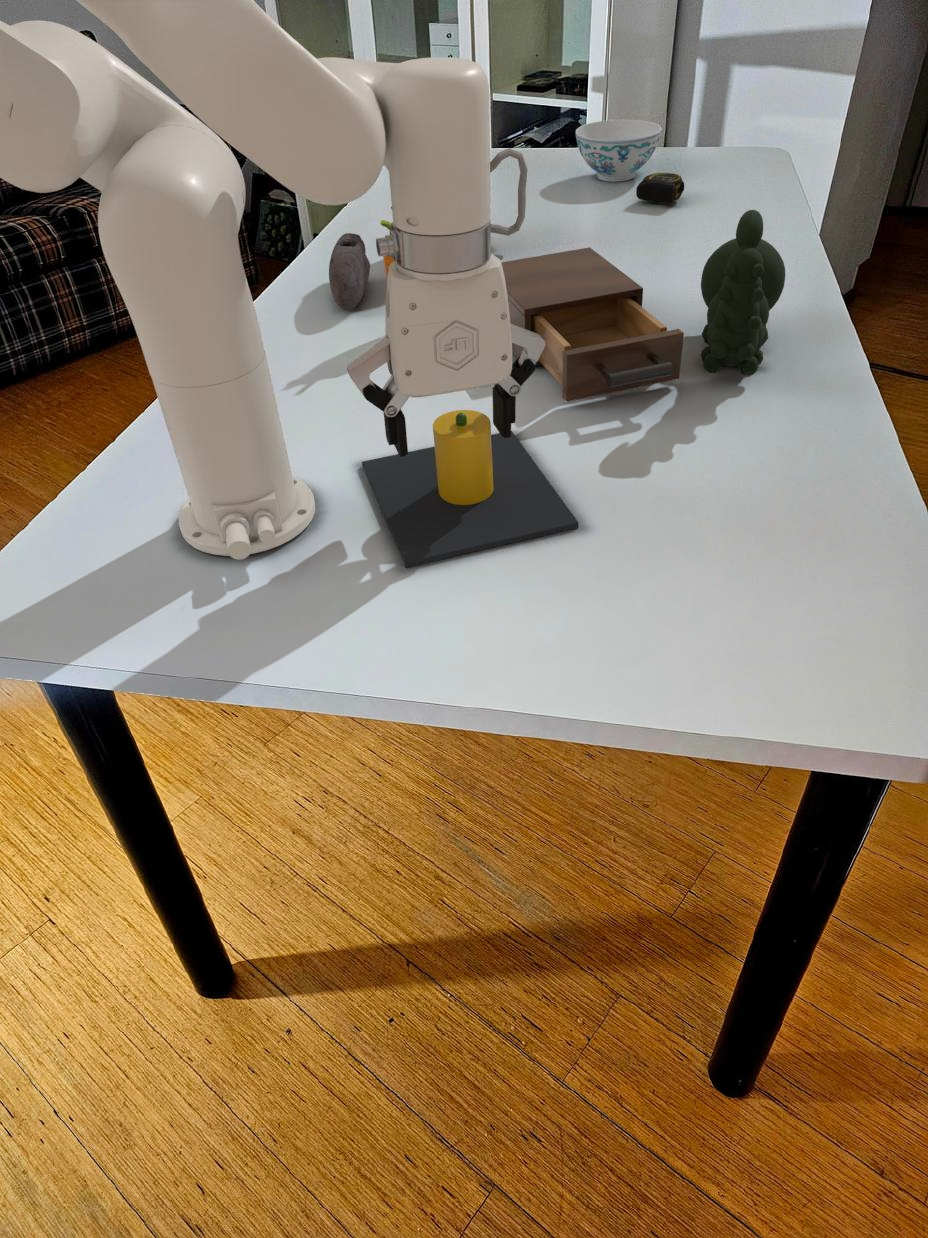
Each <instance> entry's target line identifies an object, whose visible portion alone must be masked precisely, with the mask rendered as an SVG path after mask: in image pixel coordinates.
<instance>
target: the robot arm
mask: <svg viewBox="0 0 928 1238" xmlns="http://www.w3.org/2000/svg"><path fill="white" fill-rule="evenodd" d="M75 1H76V2H77V3H78V4H79V5H81V6H82V7H83V8H85V9H86V10H87V11H89V12H90V14H92V15H93V16H95V17H96V18H97V19H98V20H99V21H101V22H102V23H103V24H105V25H106V26H107V27H108V28H109V29H110V30H112V31H113V32H114V33H115V35H117V36H118V37H119V39H121V40H122V42H123V43H124V44H125V45H126V46H127V48H128V49H129V50H130V51H131V52H132V53H133V55H134V56H135V57H136V58H137V59H138V60H139V61H140V62H141V63H142V64H143V65H144V66H145V67H147V68H148V69H149V70H150V72H152V73H153V74H154V75H155V76H156V77H157V79H159V81H161V82H162V83H163V84H164V85H165V86H166V88H168V89H169V90H170V91H171V93H172V94H173V95H175V97H176V98H177V99H178V100H179V101H180V102H181V103H182V104H183V105H184V106H185V107H186V108H187V109H189V110H190V111H191V112H192V113H193V114H194V115H193V114H192V113H190V112H189V111H188V110H187V109H185V108H184V107H183V106H181V105H180V104H179V103H178V102H176V100H174V99H172V97H170V96H168V95H167V94H166V93H164V92H163V91H162V90H160V89H159V88H158V87H156V86H155V84H152V83H151V82H150V81H148V80H147V79H146V78H145V77H144V76H142V75H141V74H140V73H138V72H137V71H135V70H134V69H133V68H132V67H130V66H129V65H127V63H125V62H124V61H122V60H121V59H120V58H119V57H117V56H116V55H114V54H113V53H112V52H111V51H110V50H108V49H107V48H105V47H103V46H102V45H101V44H99V43H98V42H96V41H95V40H93V39H92V38H90V37H89V36H87V35H85V34H83V33H82V32H79V31H77V30H76V29H73V28H71V27H69V26H66V25H64V24H61V23H58V22H54V21H48V20H38V19H35V20H25V21H19V22H16V23H13V24H11V25H9V24H8V23H6V22H4V21H2V20H0V179H2V180H3V181H5V182H7V183H8V184H11V185H12V186H15V187H17V188H19V189H21V190H23V191H28V192H32V193H33V192H34V193H38V194H47V193H52V192H53V193H54V192H58V191H61V190H63V189H65V188H67V187H69V186H71V185H72V184H74V183H75V182H76V181H77V180H78V179H82V180H83V181H85V182H86V183H87V184H89V185H91V186H92V187H93V188H95V189H97V190H98V191H100V192H101V194H100V197H99V203H98V210H97V227H98V236H99V237H98V238H99V242H100V246H101V250H102V253H103V256H104V259H105V262H106V264H107V266H108V267H107V268H108V269H109V272H110V274H111V277H112V278H113V280H114V282H115V285H116V287H117V289H118V291H119V294H120V295H121V298H122V301H123V302H124V304H125V307H126V309H127V311H128V314H129V317H130V319H131V322H132V325H133V327H134V330H135V333H136V336H137V338H138V342H139V345H140V347H141V351H142V355H143V357H144V360H145V364H146V366H147V369H148V373H149V376H150V378H151V380H152V384H153V387H154V390H155V393H156V397H157V399H158V403H159V406H160V408H161V409H160V410H161V413H162V416H163V419H164V423H165V425H166V429H167V433H168V436H169V438H170V442H171V445H172V448H173V451H174V454H175V455H174V456H175V459H176V460H177V464H178V467H179V470H180V474H181V477H182V480H183V483H184V486H185V490H186V493H187V496H188V500H187V502H185V504H183V507H182V508H181V510H180V511H179V516H178V526H179V530H180V532H181V535H182V537H183V539H184V540H185V542H186V543H187V544H189V545H190V546H191V547H193V549H196V550H199V551H200V552H203V553H207V554H209V555H215V556H223V557H230V558H232V559H234V560H237V561H239V560H240V561H241V560H245V559H247V558H248V557H249V556H250V555H254V554H258V553H262V552H267V551H269V550H271V549H274V548H277V547H280V546H282V545H284V544H285V543H288V542H289V541H291V540H293V539H294V538H295V537H297V536H298V535H300V534H301V533H302V532H303V531H304V530H305V529H306V528H307V527H308V526H309V524H311V522H312V521H313V519H314V516H315V513H316V501H315V497H314V493H313V491H312V489H311V488H310V486H308V485H307V484H306V483H305V482H303V481H302V480H300V479H298V478H297V477H294V476H293V472H292V469H291V464H290V459H289V455H288V450H287V445H286V441H285V440H286V439H285V437H284V431H283V426H282V422H281V418H280V412H279V408H278V404H277V399H276V395H275V390H274V386H273V381H272V375H271V371H270V368H269V363H268V362H269V361H268V358H267V353H266V349H265V346H264V342H263V337H262V331H261V327H260V324H259V320H258V315H257V312H256V307H255V303H254V299H253V296H252V293H251V289H250V286H249V283H248V279H247V276H246V272H245V270H244V269H245V267H244V264H243V259H242V256H241V250H240V242H239V232H240V229H241V228H240V227H241V221H242V218H243V215H244V211H245V206H246V183H245V178H244V174H243V171H242V169H241V167H240V166H241V165H240V164H239V162H238V160H237V158H236V156H235V155H234V153H233V151H232V150H231V149H230V148H229V146H228V145H227V144H229V145H230V146H231V147H233V148H234V149H235V150H236V151H238V153H240V154H242V155H243V156H245V157H246V158H247V159H248V160H249V161H251V162H252V163H253V164H254V165H256V166H257V167H258V168H260V169H261V170H262V171H264V172H265V173H267V174H268V175H269V176H270V177H272V178H273V179H274V180H276V181H277V182H278V183H279V184H281V185H282V186H283V187H285V188H286V189H288V190H289V191H290V192H292V193H294V194H296V195H297V196H299V197H301V198H303V199H305V200H307V201H310V202H313V203H314V204H315V203H316V204H319V205H325V206H341V205H346V204H349V203H352V202H354V201H356V200H358V199H360V198H361V197H363V195H365V194H366V193H368V191H370V189H372V187H373V186H374V185H375V183H376V182H377V180H378V179H379V177H380V175H381V172H382V170H383V166H384V167H385V168H386V169H387V171H388V175H389V176H388V177H389V186H390V187H389V188H390V201H391V206H392V209H391V212H392V222H393V223H391V222H390V223H391V231H390V230H389V234H386V235H385V236H384V237H376V239H375V247H376V252H377V256H378V257H379V258H380V257H383V256H388V257H393V258H394V260H395V262H392V263H391V264H390V266H389V271H388V279H387V278H386V290H385V291H386V292H385V312H384V313H385V316H384V317H385V319H384V322H385V324H384V325H385V327H384V329H385V330H384V331H385V333H384V335H385V338H383V339H382V340H381V341H380V342H378V343H376V344H375V345H374V346H373V347H371V348H370V349H368V350H366V351H365V352H364V353H362V354H361V355H359V356H358V357H357V358H355V359H353V361H351V362H350V363H348V364H347V365H346V372H347V374H348V376H349V378H350V379H351V381H352V382H353V384H354V385H355V386H356V388H357V389H358V390H359V392H360V393H361V394H362V395H363V397H364V399H365V400H366V401H368V403H370V404H372V405H373V406H374V407H376V408H377V409H379V410H380V411H381V412H382V413H383V421H384V428H385V430H384V431H385V438H386V442H387V444H388V446H394V448H395V450H396V452H397V454H399V456H400V457H404V456H406V454H408V452H409V447H408V437H407V425H406V424H407V423H406V417H405V414H404V412H403V410H402V408H403V407H404V405H405V404H406V402H407V401H408V399H409V398H425V397H432V396H438V395H444V394H450V393H451V394H452V393H456V392H462V391H468V390H474V389H480V388H486V387H490V386H493V387H492V424H493V426H494V427H495V429H496V430H497V431H498V433H500V434H501V436H502V437H504V438H509V437H511V431H512V425H513V424H515V423H516V417H517V416H516V411H517V410H516V407H517V406H516V402H517V401H516V399H517V396H519V394H520V393H521V392H522V388H521V387H522V386H523V385H524V384H525V383H526V382H527V380H528V379H529V378H530V377H531V376H532V374H534V372H535V371H536V367H535V364H536V362H538V360H539V358H540V356H541V354H542V352H543V350H544V348H545V345H546V342H545V340H544V339H543V338H542V337H541V336H540V335H539V334H537V333H534V332H531V331H529V330H526V329H523V328H521V327H518V326H516V325H513V324H510V315H509V305H508V297H507V289H506V283H505V277H504V271H503V267H502V263H501V262H502V260H501V259H500V258H498V257H497V256H496V255H495V254H493V253H492V235H491V234H492V233H491V224H492V222H491V221H492V220H491V215H492V212H491V173H490V162H491V132H490V131H491V130H490V129H491V128H490V127H491V126H490V125H491V123H490V119H491V118H490V113H491V111H490V86H489V80H488V77H487V74H486V72H485V70H484V68H483V67H482V66H481V65H480V64H478V63H477V62H476V61H473V60H470V59H467V58H461V57H450V56H432V57H420V58H414V59H409V60H405V61H402V62H384V61H374V60H373V61H371V60H364V59H363V60H362V59H354V58H347V57H346V58H345V57H335V56H334V57H333V56H328V57H318V58H316V56H314V54H312V53H311V52H310V51H308V50H307V48H305V46H303V45H302V44H301V43H299V42H298V41H297V40H296V39H295V38H293V36H292V35H290V34H289V32H287V31H286V30H285V29H284V28H283V27H282V26H281V25H280V24H279V23H277V22H276V21H275V20H274V19H273V18H272V17H271V16H270V15H269V14H268V13H267V12H265V10H264V9H262V8H261V6H260V5H259V4H257V2H256V1H255V0H75ZM225 142H226V143H227V144H226V143H225ZM512 343H513V344H516V345H519V346H522V347H523V350H522V354H521V356H519V357H518V358H516V359H515V360H514V362H513V353H512ZM385 364H386V365H387V369H388V373H389V374H390V375H391V376H390V377H389V378H388V379H387V381H386V383H385V384H384V386H383V387H380V386H379V385H378V384H377V383H375V382H373V380H371V378H370V375H371V374H372V373H373V372H374V371H376V370H378V369H380V367H383V365H385Z"/></svg>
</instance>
